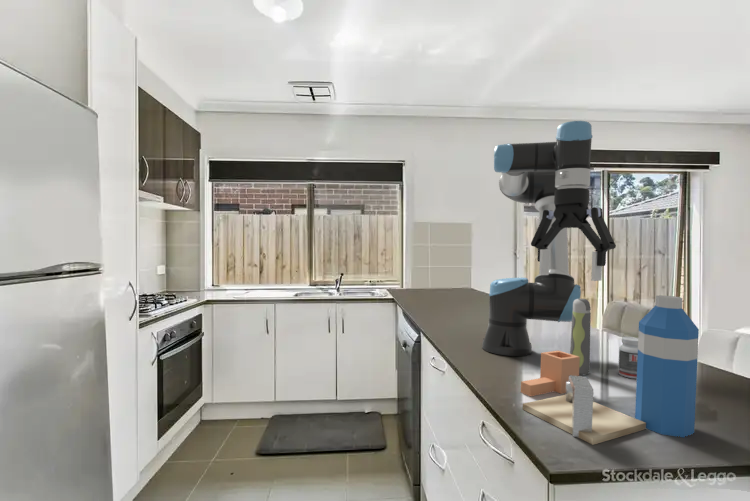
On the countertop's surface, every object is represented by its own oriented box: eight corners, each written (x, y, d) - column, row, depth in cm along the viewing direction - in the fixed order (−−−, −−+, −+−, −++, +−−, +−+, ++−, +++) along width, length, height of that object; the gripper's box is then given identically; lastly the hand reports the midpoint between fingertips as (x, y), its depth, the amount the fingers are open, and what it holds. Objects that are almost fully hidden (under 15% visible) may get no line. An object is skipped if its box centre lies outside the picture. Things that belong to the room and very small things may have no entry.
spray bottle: (573, 368, 113) (575, 297, 113) (592, 372, 110) (594, 299, 109) (566, 372, 110) (569, 298, 109) (585, 376, 106) (588, 300, 106)
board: (522, 409, 85) (522, 403, 85) (572, 398, 91) (572, 393, 91) (592, 444, 70) (593, 437, 70) (645, 429, 77) (646, 422, 77)
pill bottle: (647, 380, 105) (648, 342, 105) (623, 378, 106) (624, 340, 106) (637, 373, 111) (639, 337, 110) (614, 371, 112) (616, 335, 112)
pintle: (562, 399, 87) (563, 375, 87) (570, 398, 88) (571, 374, 88) (572, 403, 85) (573, 379, 85) (580, 402, 86) (581, 377, 86)
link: (535, 399, 90) (536, 363, 90) (515, 389, 96) (516, 356, 96) (578, 390, 97) (579, 356, 96) (557, 382, 102) (558, 350, 102)
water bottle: (623, 415, 83) (628, 293, 82) (666, 414, 84) (671, 293, 83) (659, 438, 74) (665, 300, 73) (707, 437, 74) (713, 300, 74)
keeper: (568, 420, 80) (569, 375, 80) (585, 423, 79) (586, 377, 79) (572, 436, 73) (574, 387, 73) (591, 439, 72) (593, 389, 72)
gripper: (518, 192, 106) (515, 273, 106) (616, 181, 84) (612, 283, 85) (537, 194, 109) (534, 272, 110) (635, 184, 88) (631, 282, 89)
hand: (568, 277), depth 97 cm, fingers open, 13 cm apart
